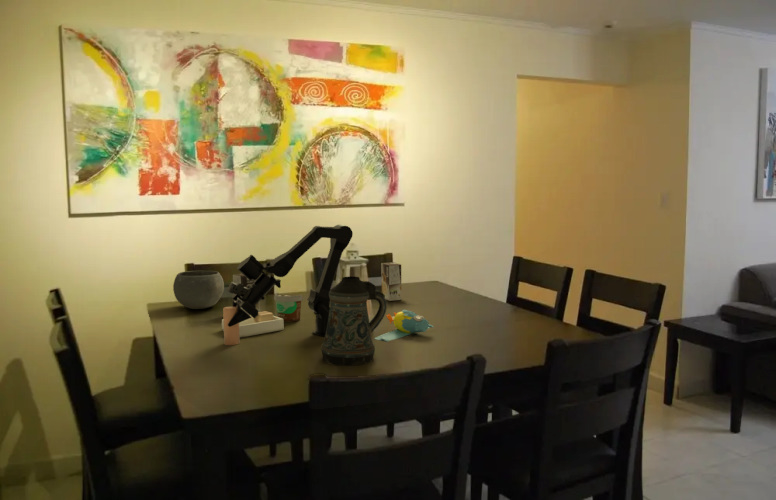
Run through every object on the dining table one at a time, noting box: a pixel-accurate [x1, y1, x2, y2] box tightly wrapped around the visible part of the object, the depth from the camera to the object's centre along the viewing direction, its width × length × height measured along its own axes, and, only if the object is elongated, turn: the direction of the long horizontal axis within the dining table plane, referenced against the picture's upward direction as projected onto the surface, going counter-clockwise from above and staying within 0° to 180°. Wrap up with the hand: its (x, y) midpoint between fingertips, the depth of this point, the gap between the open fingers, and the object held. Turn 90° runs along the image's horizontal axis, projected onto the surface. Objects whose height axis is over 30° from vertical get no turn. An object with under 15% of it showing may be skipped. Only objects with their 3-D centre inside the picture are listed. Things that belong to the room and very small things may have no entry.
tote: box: [221, 315, 285, 338], centre depth 232 cm, size 14×18×4 cm
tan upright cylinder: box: [222, 306, 241, 346], centre depth 214 cm, size 5×5×12 cm
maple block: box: [254, 310, 274, 323], centre depth 235 cm, size 5×5×5 cm
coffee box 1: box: [232, 273, 261, 312], centre depth 261 cm, size 9×6×16 cm
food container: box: [273, 292, 304, 323], centre depth 247 cm, size 12×6×10 cm, turn 62°
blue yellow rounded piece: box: [374, 309, 434, 342], centre depth 227 cm, size 28×9×15 cm
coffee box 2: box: [380, 261, 402, 302], centre depth 290 cm, size 9×6×16 cm
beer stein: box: [320, 276, 388, 367], centre depth 196 cm, size 16×19×25 cm
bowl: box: [172, 270, 225, 310], centre depth 270 cm, size 20×20×15 cm
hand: (227, 324), depth 213 cm, fingers closed on tan upright cylinder, 5 cm apart
